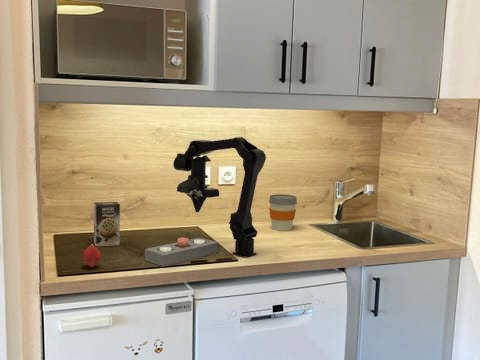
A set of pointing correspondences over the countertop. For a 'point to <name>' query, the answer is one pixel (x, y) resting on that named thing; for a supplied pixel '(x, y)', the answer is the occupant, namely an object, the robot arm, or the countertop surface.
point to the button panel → (180, 252)
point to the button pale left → (165, 249)
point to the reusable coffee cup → (282, 211)
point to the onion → (91, 256)
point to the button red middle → (182, 242)
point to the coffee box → (106, 223)
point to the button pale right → (199, 241)
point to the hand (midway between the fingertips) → (197, 212)
